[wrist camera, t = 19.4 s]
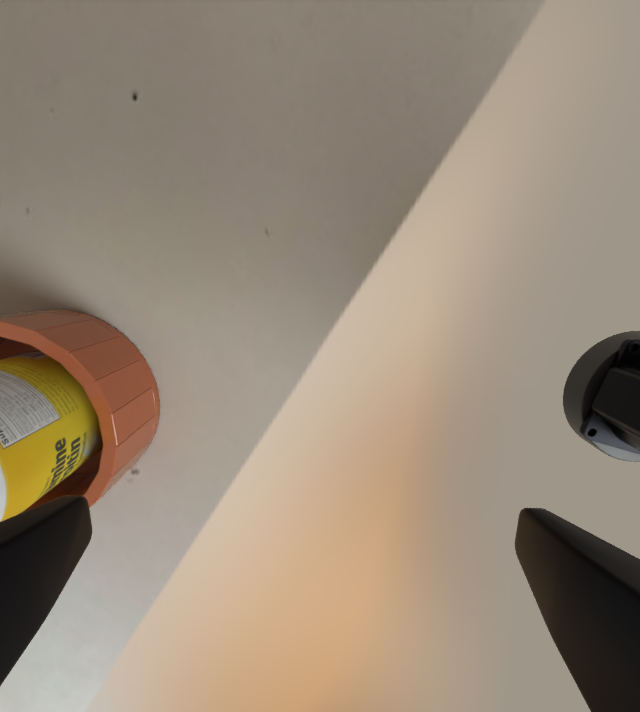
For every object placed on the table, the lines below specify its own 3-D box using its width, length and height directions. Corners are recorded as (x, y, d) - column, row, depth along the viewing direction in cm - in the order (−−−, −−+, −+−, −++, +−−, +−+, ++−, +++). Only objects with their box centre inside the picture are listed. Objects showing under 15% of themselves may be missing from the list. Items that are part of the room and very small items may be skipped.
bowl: (175, 339, 20) (133, 358, 16) (143, 497, 22) (98, 552, 18) (-10, 286, 20) (-107, 290, 15) (-24, 452, 22) (-111, 497, 18)
